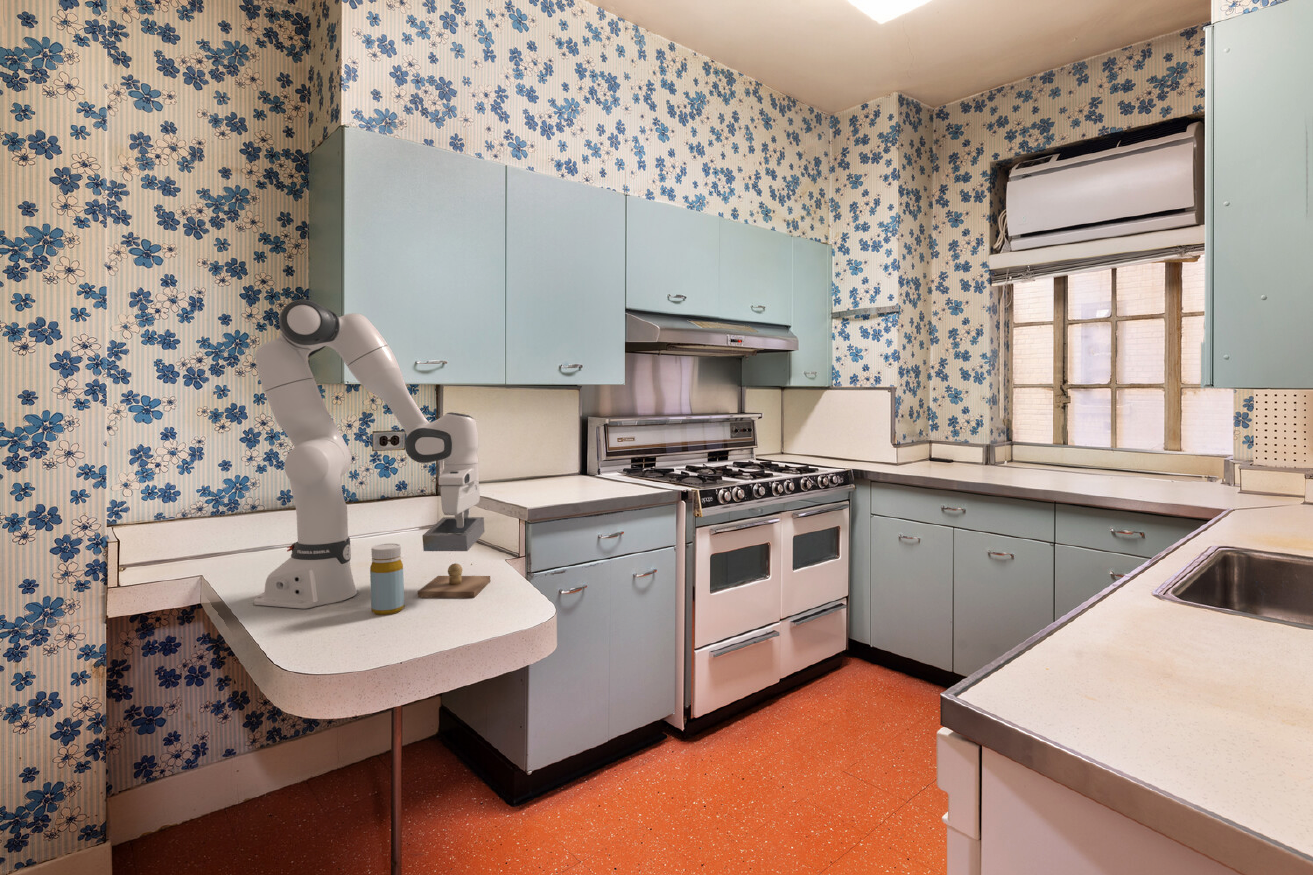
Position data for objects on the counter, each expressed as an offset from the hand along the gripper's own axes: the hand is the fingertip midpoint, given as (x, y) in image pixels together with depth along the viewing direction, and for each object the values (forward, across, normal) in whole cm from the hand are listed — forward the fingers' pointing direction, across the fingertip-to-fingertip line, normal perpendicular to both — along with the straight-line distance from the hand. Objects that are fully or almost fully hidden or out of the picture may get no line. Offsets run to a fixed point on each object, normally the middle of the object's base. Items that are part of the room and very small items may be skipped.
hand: (462, 526), depth 173 cm
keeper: (+15, +7, 0) cm, 16 cm away
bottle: (+15, +24, -10) cm, 30 cm away
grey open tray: (+2, +6, 0) cm, 7 cm away
